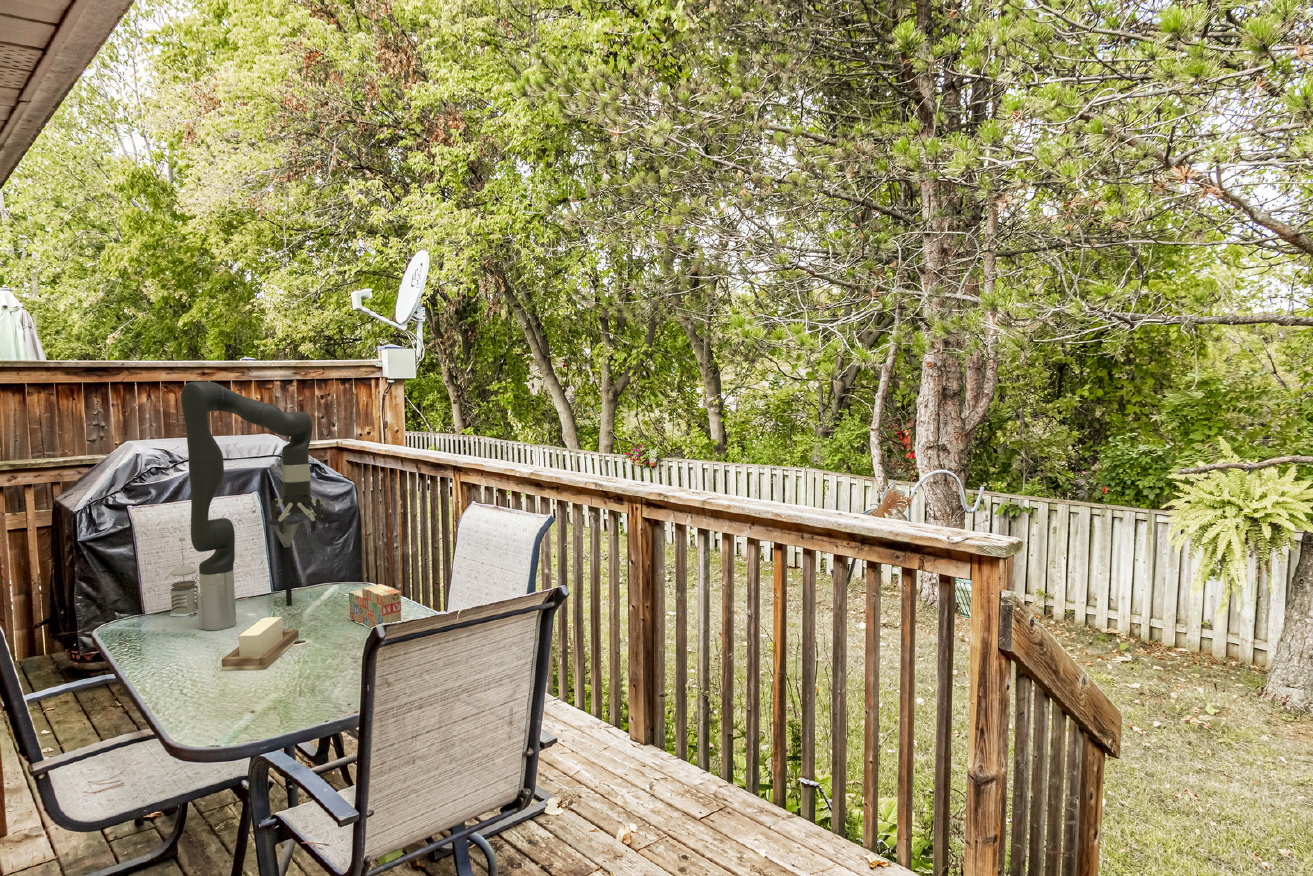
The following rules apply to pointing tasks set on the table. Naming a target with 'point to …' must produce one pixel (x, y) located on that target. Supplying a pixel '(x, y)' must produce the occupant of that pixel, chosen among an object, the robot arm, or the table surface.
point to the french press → (184, 590)
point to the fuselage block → (260, 637)
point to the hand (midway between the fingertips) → (298, 533)
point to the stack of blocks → (375, 605)
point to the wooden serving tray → (260, 662)
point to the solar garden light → (287, 548)
